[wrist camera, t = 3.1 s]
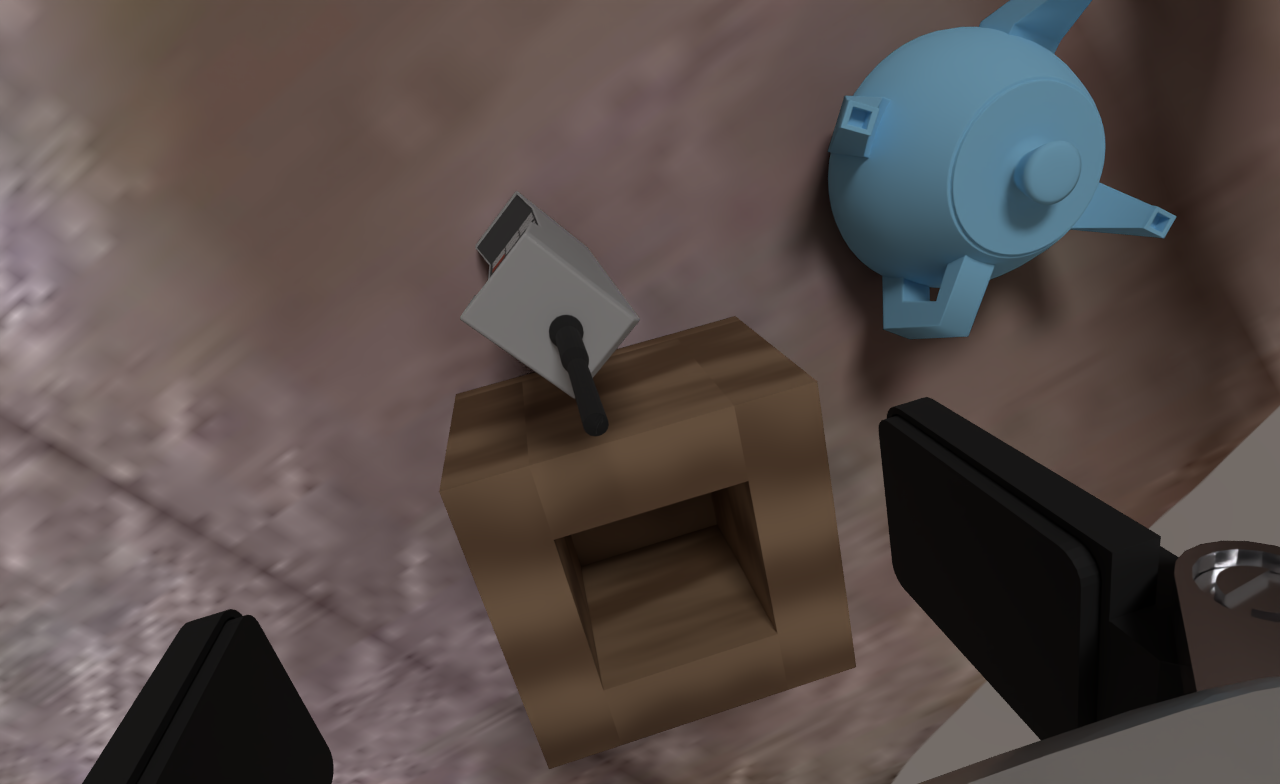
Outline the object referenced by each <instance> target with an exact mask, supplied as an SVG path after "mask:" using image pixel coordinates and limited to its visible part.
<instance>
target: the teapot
mask: <svg viewBox="0 0 1280 784" xmlns="http://www.w3.org/2000/svg"><path fill="white" fill-rule="evenodd" d="M1091 1H1092V0H1010V1H1009V2H1007V3H1006V4H1004V5H1003V6H1002V7H1000V8H999V9H998V10H996V11H995V12H993V13H992V14H991V15H989V16H988V17H987V18H985V19H984V20H983V21H981V23H980V25H979V27H958V28H952V29H946V30H940V31H935V32H932V33H929V34H926V35H922V36H920V37H918V38H916V39H914V40H912V41H910V42H908V43H906V44H904V45H903V46H901V47H900V48H898V49H897V50H895V51H894V52H892V53H891V54H890V55H889V56H887V57H886V58H885V59H884V60H883V61H882V62H880V63H879V64H878V65H877V66H876V67H875V68H874V70H873V71H872V72H871V73H870V74H869V75H868V76H867V77H866V78H865V80H864V81H863V82H862V84H861V85H860V86H859V88H858V89H857V91H856V92H855V93H854V95H853V96H844V100H843V103H842V106H841V109H840V113H839V116H838V119H837V123H836V126H835V129H834V132H833V136H832V139H831V142H830V145H829V149H828V152H830V153H831V154H830V159H829V171H828V187H829V198H830V203H831V209H832V212H833V215H834V219H835V222H836V224H837V226H838V228H839V231H840V233H841V235H842V237H843V239H844V240H845V242H846V243H847V245H848V247H849V248H850V250H851V251H852V252H853V253H854V254H855V255H856V256H857V258H858V259H859V260H860V261H861V262H863V263H864V264H865V265H866V266H868V267H869V268H870V269H872V270H873V271H875V272H877V273H878V274H880V275H882V283H883V330H886V331H889V332H891V333H894V334H897V335H900V336H902V337H905V338H908V339H926V338H947V337H968V336H969V333H970V331H971V328H972V325H973V323H974V320H975V317H976V315H977V312H978V309H979V307H980V304H981V301H982V299H983V296H984V293H985V291H986V288H987V285H988V283H989V280H990V279H993V278H996V277H999V276H1001V275H1003V274H1005V273H1007V272H1009V271H1012V270H1014V269H1016V268H1018V267H1020V266H1022V265H1023V264H1025V263H1026V262H1028V261H1030V260H1031V259H1033V258H1034V257H1036V256H1038V255H1039V254H1041V253H1042V252H1044V251H1045V250H1047V249H1048V248H1050V247H1051V246H1052V245H1053V244H1055V243H1056V242H1057V241H1058V240H1059V239H1061V238H1062V237H1063V236H1064V235H1065V234H1066V233H1067V232H1068V231H1069V230H1081V231H1092V232H1103V233H1114V234H1125V235H1136V236H1147V237H1158V238H1164V237H1165V236H1166V234H1167V232H1168V231H1169V229H1170V227H1171V225H1172V224H1173V222H1174V220H1175V219H1176V217H1177V216H1175V215H1173V214H1171V213H1169V212H1167V211H1165V210H1163V209H1161V208H1159V207H1157V206H1152V205H1150V204H1147V203H1145V202H1143V201H1140V200H1138V199H1136V198H1134V197H1131V196H1129V195H1127V194H1124V193H1122V192H1120V191H1117V190H1115V189H1113V188H1111V187H1108V186H1106V185H1104V184H1101V183H1099V180H1100V177H1101V174H1102V170H1103V165H1104V158H1105V135H1104V128H1103V124H1102V120H1101V117H1100V115H1099V112H1098V110H1097V107H1096V105H1095V103H1094V100H1093V99H1092V97H1091V96H1090V94H1089V92H1088V91H1087V89H1086V88H1085V87H1084V85H1083V84H1082V83H1081V81H1080V80H1079V79H1078V77H1077V76H1076V75H1075V74H1074V73H1073V72H1072V70H1071V69H1070V68H1069V67H1068V66H1067V65H1066V64H1065V63H1064V62H1063V61H1062V60H1061V59H1059V58H1058V57H1057V56H1056V55H1054V53H1055V51H1056V49H1057V47H1058V45H1059V43H1060V41H1061V40H1062V38H1063V37H1064V36H1065V34H1066V33H1067V32H1068V31H1069V29H1070V28H1071V27H1072V25H1073V24H1074V23H1075V22H1076V20H1077V19H1078V18H1079V17H1080V15H1081V14H1082V13H1083V11H1084V10H1085V9H1086V8H1087V6H1088V5H1089V4H1090V2H1091ZM930 287H933V288H940V290H939V293H938V297H937V300H936V301H930Z"/></svg>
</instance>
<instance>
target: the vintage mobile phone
mask: <svg viewBox="0 0 1280 784" xmlns="http://www.w3.org/2000/svg"><path fill="white" fill-rule="evenodd" d="M475 248H476V249H477V251H478V252H479V253H480V254H481V256H482V257H483V258H484V259H485V260H486V262H487V263H488V264H489V276H488V281H487V282H486V284H485V285H484V286H483V288H482V289H481V290H480V292H479V293H478V294H477V295H475V296H474V297H473V299H472V300H471V302H470V303H469V305H468V306H467V308H466V309H465V311H464V312H463V314H462V315H461V317H460V319H461V321H463V322H464V323H466V324H467V325H469V326H470V327H472V328H473V329H474V330H476V331H477V332H479V333H480V334H482V335H483V336H485V337H486V338H487V339H489V340H490V341H492V342H493V343H495V344H496V345H497V346H499V347H500V348H502V349H503V350H505V351H506V352H508V353H509V354H510V355H512V356H513V357H515V358H516V359H518V360H519V361H521V362H522V363H523V364H525V365H526V366H528V367H529V368H531V369H532V370H533V371H535V372H536V373H538V374H539V375H541V376H542V377H544V378H545V379H546V380H548V381H549V382H551V383H552V384H554V385H555V386H557V387H558V388H559V389H561V390H562V391H564V392H565V393H567V394H568V395H569V396H571V397H572V398H575V399H576V402H577V406H578V410H579V413H580V417H581V421H582V424H583V428H584V430H585V432H586V433H587V434H588V435H590V436H595V437H596V436H600V435H602V434H604V433H605V432H606V431H607V429H608V426H609V422H608V419H607V416H606V413H605V410H604V408H603V405H602V402H601V400H600V397H599V394H598V391H597V389H596V386H595V383H594V381H593V377H594V376H595V375H596V373H597V372H598V371H599V370H600V369H601V367H602V366H603V365H604V364H605V362H606V361H607V360H608V359H609V358H610V356H611V355H612V354H613V353H614V351H615V350H616V349H617V348H618V346H619V345H620V344H621V343H622V342H623V340H624V339H625V338H626V337H627V335H628V334H629V333H630V332H631V330H632V329H633V328H634V327H635V326H636V324H637V323H638V322H639V320H640V319H639V317H638V316H637V314H636V313H635V312H634V310H633V309H632V308H631V306H630V305H629V303H628V302H627V301H626V299H625V298H624V297H623V295H622V294H621V293H620V291H619V290H618V289H617V287H616V286H615V284H614V283H613V282H612V280H611V279H610V278H609V276H608V275H607V274H606V272H605V271H604V269H603V268H602V267H601V265H600V264H599V263H598V261H597V260H596V259H595V257H594V256H593V254H592V253H591V252H590V250H589V249H588V248H587V247H586V246H585V245H584V244H583V243H581V242H580V241H579V240H578V239H576V238H575V237H574V236H573V235H571V234H570V233H569V232H568V231H566V230H565V229H564V228H563V227H561V226H560V225H559V224H558V223H556V222H555V221H554V220H553V219H551V218H550V217H549V216H548V215H546V214H545V213H544V212H543V211H541V210H540V209H539V208H538V207H536V206H535V205H534V204H533V203H531V202H530V201H529V200H528V199H526V198H525V197H524V196H523V195H521V194H520V193H519V192H518V191H516V192H515V193H514V194H513V196H512V197H511V198H510V200H509V201H508V202H507V204H506V205H505V206H504V208H503V209H502V210H501V212H500V213H499V214H498V216H497V217H496V218H495V220H494V221H493V222H492V224H491V225H490V226H489V228H488V229H487V230H486V232H485V233H484V234H483V236H482V237H481V238H480V240H479V241H478V243H477V244H476V247H475Z"/></svg>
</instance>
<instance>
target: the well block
mask: <svg viewBox="0 0 1280 784" xmlns="http://www.w3.org/2000/svg"><path fill="white" fill-rule="evenodd" d="M593 381H594V383H595V386H596V389H597V391H598V394H599V397H600V400H601V402H602V405H603V408H604V410H605V413H606V416H607V419H608V422H609V426H608V429H607V431H606V432H605V433H604V434H602V435H600V436H596V437H595V436H590V435H588V434H587V433H586V432H585V430H584V428H583V424H582V421H581V417H580V413H579V410H578V406H577V402H576V399H575V398H572V397H571V396H569V395H568V394H567V393H565V392H564V391H562V390H561V389H559V388H558V387H557V386H555V385H554V384H552V383H551V382H549V381H548V380H546V379H545V378H544V377H542V376H541V375H539V374H538V373H536V372H534V373H531V374H527V375H523V376H520V377H516V378H513V379H509V380H506V381H502V382H498V383H495V384H491V385H488V386H484V387H481V388H477V389H473V390H470V391H466V392H463V393H459V394H456V397H455V403H454V409H453V415H452V421H451V427H450V432H449V438H448V444H447V450H446V456H445V462H444V467H443V473H442V479H441V485H440V491H439V492H440V495H441V497H442V500H443V502H444V505H445V507H446V510H447V512H448V515H449V518H450V520H451V523H452V525H453V528H454V530H455V533H456V535H457V538H458V540H459V543H460V545H461V548H462V550H463V553H464V555H465V558H466V560H467V563H468V565H469V568H470V571H471V573H472V576H473V578H474V581H475V583H476V586H477V588H478V591H479V593H480V596H481V598H482V601H483V603H484V606H485V608H486V611H487V613H488V616H489V618H490V621H491V623H492V626H493V629H494V631H495V634H496V636H497V639H498V641H499V644H500V646H501V649H502V651H503V654H504V656H505V659H506V661H507V664H508V666H509V669H510V671H511V674H512V676H513V679H514V682H515V684H516V687H517V689H518V692H519V694H520V697H521V699H522V702H523V704H524V707H525V709H526V712H527V714H528V717H529V719H530V722H531V724H532V727H533V729H534V732H535V735H536V737H537V740H538V742H539V745H540V747H541V750H542V752H543V755H544V757H545V760H546V762H547V765H548V767H549V769H551V768H554V767H557V766H560V765H563V764H566V763H569V762H572V761H575V760H578V759H581V758H584V757H587V756H590V755H593V754H597V753H600V752H603V751H606V750H609V749H612V748H615V747H618V746H621V745H624V744H627V743H630V742H633V741H636V740H639V739H642V738H645V737H648V736H651V735H654V734H657V733H660V732H663V731H666V730H669V729H672V728H675V727H678V726H681V725H684V724H687V723H690V722H693V721H696V720H699V719H702V718H705V717H708V716H711V715H714V714H717V713H720V712H723V711H726V710H729V709H732V708H735V707H738V706H741V705H744V704H747V703H750V702H753V701H756V700H759V699H762V698H765V697H768V696H771V695H774V694H777V693H780V692H783V691H786V690H789V689H792V688H795V687H798V686H801V685H804V684H807V683H810V682H813V681H816V680H819V679H822V678H825V677H828V676H831V675H834V674H837V673H840V672H843V671H846V670H849V669H852V668H855V667H856V663H855V655H854V648H853V641H852V633H851V626H850V619H849V611H848V604H847V597H846V589H845V582H844V574H843V567H842V560H841V552H840V545H839V538H838V530H837V523H836V516H835V508H834V501H833V494H832V486H831V479H830V472H829V464H828V457H827V450H826V442H825V435H824V428H823V420H822V413H821V406H820V398H819V391H818V384H817V381H816V380H815V379H814V378H812V377H811V376H810V375H808V374H807V373H806V372H805V371H803V370H802V369H801V368H800V367H798V366H797V365H796V364H795V363H793V362H792V361H791V360H790V359H788V358H787V357H786V356H785V355H783V354H782V353H781V352H780V351H778V350H777V349H776V348H775V347H773V346H772V345H771V344H770V343H768V342H767V341H766V340H765V339H763V338H762V337H761V336H759V335H758V334H757V333H756V332H754V331H753V330H752V329H751V328H749V327H748V326H747V325H746V324H744V323H743V322H742V321H741V320H739V319H738V318H737V317H736V316H734V317H730V318H727V319H723V320H720V321H716V322H713V323H709V324H705V325H702V326H698V327H695V328H691V329H688V330H684V331H680V332H677V333H673V334H670V335H666V336H663V337H659V338H655V339H652V340H648V341H645V342H641V343H638V344H634V345H630V346H627V347H623V348H620V349H616V350H615V351H614V353H613V354H612V355H611V356H610V358H609V359H608V360H607V361H606V362H605V364H604V365H603V366H602V367H601V369H600V370H599V371H598V372H597V373H596V375H595V376H594V377H593Z"/></svg>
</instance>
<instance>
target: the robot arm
mask: <svg viewBox="0 0 1280 784" xmlns="http://www.w3.org/2000/svg"><path fill="white" fill-rule="evenodd" d="M879 439H880V449H881V458H882V468H883V478H884V487H885V497H886V507H887V516H888V526H889V535H890V545H891V555H892V564H893V568H894V571H895V574H896V576H897V579H898V581H899V582H900V584H901V585H902V587H903V588H904V589H905V590H906V592H907V593H908V594H909V595H910V596H911V597H912V598H913V599H914V600H915V601H916V603H917V604H918V605H919V606H920V607H921V608H922V609H923V610H924V611H925V613H926V614H927V615H928V616H929V617H930V618H931V619H932V620H933V621H934V622H935V624H936V625H937V626H938V627H939V628H940V629H941V630H942V631H943V632H944V634H945V635H946V636H947V637H948V638H949V639H950V640H951V641H952V642H953V644H954V645H955V646H956V647H957V648H958V649H959V650H960V651H961V652H962V653H963V655H964V656H965V657H966V658H967V659H968V660H969V661H970V662H971V663H972V665H973V666H974V667H975V668H976V669H977V670H978V671H979V672H980V673H981V674H982V676H983V677H984V678H985V679H986V680H987V681H988V682H989V683H990V684H991V685H992V687H993V688H994V689H995V690H996V691H997V692H998V693H999V694H1000V696H1001V697H1003V699H1004V700H1005V701H1006V702H1007V703H1008V704H1009V705H1010V707H1011V708H1012V709H1013V710H1014V711H1015V712H1016V713H1017V714H1018V715H1019V717H1020V718H1021V719H1022V720H1023V721H1024V722H1025V723H1026V724H1027V725H1028V726H1029V728H1030V729H1031V730H1032V731H1033V732H1034V733H1035V734H1036V735H1037V736H1038V737H1039V739H1040V740H1041V741H1039V742H1036V743H1032V744H1030V745H1027V746H1024V747H1021V748H1018V749H1015V750H1012V751H1009V752H1006V753H1003V754H1000V755H997V756H994V757H991V758H989V759H986V760H983V761H980V762H977V763H975V764H972V765H969V766H966V767H963V768H961V769H958V770H955V771H952V772H949V773H947V774H944V775H941V776H938V777H935V778H933V779H930V780H927V781H924V782H921V783H919V784H1280V547H1278V546H1274V545H1267V544H1262V543H1255V542H1249V541H1218V542H1211V543H1205V544H1200V545H1198V546H1196V547H1194V548H1191V549H1189V550H1186V551H1185V552H1184V553H1183V554H1182V555H1181V556H1180V557H1177V556H1176V555H1174V554H1172V553H1171V552H1169V551H1167V550H1165V549H1164V548H1163V547H1161V546H1160V539H1161V536H1159V535H1158V534H1156V533H1154V532H1153V531H1151V530H1149V529H1148V528H1146V527H1144V526H1143V525H1141V524H1139V523H1138V522H1136V521H1134V520H1133V519H1131V518H1129V517H1128V516H1126V515H1124V514H1123V513H1121V512H1119V511H1118V510H1116V509H1114V508H1113V507H1111V506H1109V505H1108V504H1106V503H1104V502H1103V501H1101V500H1099V499H1098V498H1096V497H1094V496H1093V495H1091V494H1089V493H1088V492H1086V491H1084V490H1083V489H1081V488H1079V487H1078V486H1076V485H1074V484H1073V483H1071V482H1069V481H1068V480H1066V479H1065V478H1063V477H1061V476H1060V475H1058V474H1056V473H1055V472H1053V471H1051V470H1050V469H1048V468H1046V467H1045V466H1043V465H1041V464H1040V463H1038V462H1036V461H1035V460H1033V459H1031V458H1030V457H1028V456H1026V455H1025V454H1023V453H1021V452H1020V451H1018V450H1016V449H1015V448H1013V447H1011V446H1010V445H1008V444H1006V443H1005V442H1003V441H1001V440H1000V439H998V438H996V437H995V436H993V435H991V434H990V433H988V432H986V431H985V430H983V429H981V428H980V427H978V426H976V425H975V424H973V423H971V422H970V421H968V420H966V419H965V418H963V417H961V416H960V415H958V414H956V413H955V412H953V411H951V410H950V409H948V408H947V407H945V406H943V405H942V404H940V403H938V402H937V401H935V400H933V399H931V398H928V397H925V398H921V399H918V400H914V401H911V402H908V403H905V404H901V405H898V406H895V407H892V408H890V409H889V411H888V414H887V419H885V420H882V421H881V422H880V424H879ZM332 779H333V759H332V755H331V752H330V750H329V747H328V746H327V744H326V742H325V740H324V738H323V737H322V735H321V733H320V731H319V730H318V728H317V726H316V724H315V722H314V721H313V719H312V717H311V715H310V713H309V712H308V710H307V708H306V706H305V705H304V703H303V701H302V699H301V697H300V696H299V694H298V692H297V690H296V689H295V687H294V685H293V683H292V681H291V680H290V678H289V676H288V674H287V673H286V671H285V669H284V667H283V665H282V664H281V662H280V660H279V658H278V656H277V655H276V653H275V651H274V649H273V648H272V646H271V644H270V642H269V640H268V639H267V637H266V635H265V633H264V632H263V630H262V628H261V626H260V624H259V623H258V621H257V620H256V619H255V618H254V617H253V616H252V615H245V616H242V614H241V613H239V612H238V611H236V610H233V609H229V610H226V611H223V612H219V613H216V614H213V615H210V616H206V617H203V618H200V619H197V620H193V621H190V622H188V623H185V624H184V626H183V627H182V628H181V629H180V630H179V632H178V634H177V635H176V637H175V638H174V640H173V642H172V643H171V645H170V646H169V648H168V649H167V651H166V653H165V654H164V656H163V657H162V659H161V660H160V662H159V664H158V665H157V667H156V668H155V670H154V671H153V673H152V675H151V676H150V678H149V679H148V681H147V682H146V684H145V686H144V687H143V689H142V690H141V692H140V693H139V695H138V697H137V698H136V700H135V701H134V703H133V704H132V706H131V708H130V709H129V711H128V712H127V714H126V715H125V717H124V719H123V720H122V722H121V723H120V725H119V726H118V728H117V730H116V731H115V733H114V734H113V736H112V738H111V739H110V741H109V742H108V744H107V745H106V747H105V749H104V750H103V752H102V753H101V755H100V756H99V758H98V760H97V761H96V763H95V764H94V766H93V767H92V769H91V771H90V772H89V774H88V775H87V777H86V778H85V780H84V782H83V783H82V784H331V783H332Z"/></svg>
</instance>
